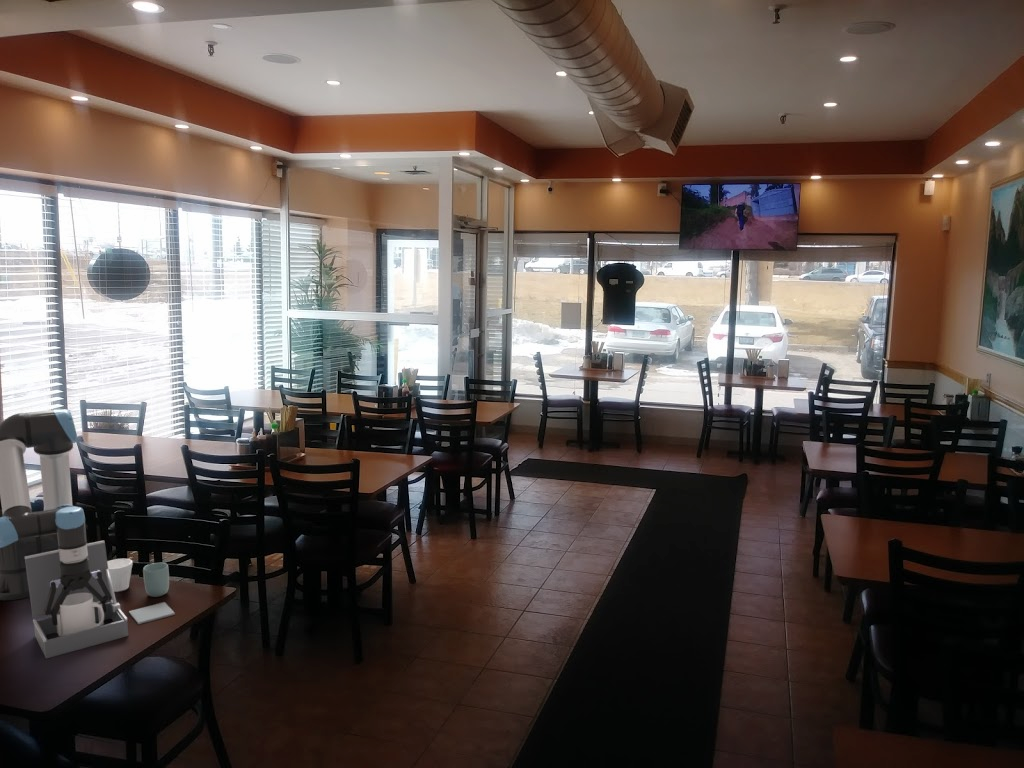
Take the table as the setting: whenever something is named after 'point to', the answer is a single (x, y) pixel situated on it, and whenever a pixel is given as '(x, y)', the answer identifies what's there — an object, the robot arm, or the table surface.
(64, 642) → the case
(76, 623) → the mug
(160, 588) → the cup
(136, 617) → the pad
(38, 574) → the lid
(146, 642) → the table surface
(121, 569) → the cup
